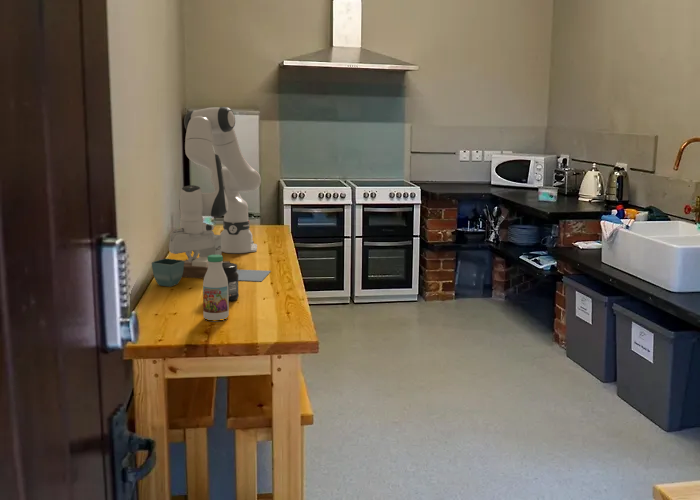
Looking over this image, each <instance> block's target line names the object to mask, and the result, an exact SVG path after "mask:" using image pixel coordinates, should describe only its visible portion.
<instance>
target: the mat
mask: <svg viewBox="0 0 700 500" xmlns="http://www.w3.org/2000/svg"><path fill="white" fill-rule="evenodd" d="M236 272H237V273H238V275H239V277H238V282H255V283H256V282H258V283H259V282H260V283H261V282H263V281H264V280H265V279H266V278H267V276H268V275H269V274H271V272H272V270H261V269H260V270H259V269H238V268H237V271H236Z"/></svg>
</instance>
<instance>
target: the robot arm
mask: <svg viewBox="0 0 700 500" xmlns="http://www.w3.org/2000/svg"><path fill="white" fill-rule="evenodd" d="M183 119H184V120H183V124H184V128H185V131H186V133H185V139H184V141H185V142H184V150H185V151H184V152H185V155H186V157H187V158H188V159H189V161H190V162H192V163H194V164H195V165H197V166H199V167H200V166H201V167H202V168H204V169H207V170H208V171H210V172H211V175H210V180H211V184H212V186H213V187H214V191H213V192H202V189H201V187H200V186H198V185H194V184H193V185H184V186H183V187H182V188H181V189H180V193H179V195H180V197H179V203H178V204H179V205H178V206H179V211H180V218H179V223H180V226H179V229H173V230H172V231H171V232H170V233H169V243H168V251H169V253H171V254H174V255H176V254H177V255H178V254H183V253H185V255H186V257H187V260H188V262H192V261H193V260H195V259H197V258H198V257H199V250H201V249H207V248H213V246H214V244H215V238H214V235H215V232H214V230H215V229H214V225H213V224H210V223H206V222H204V218H203V217H210V218H219V219H220V218H222V217H223V223H222V227H223V230H222V231H221V232H220V234H219V235H221V253H226V254H247V253H253V252H254V253H255V252H257V249H258V244H257V243H254V240H253V233H252V231H251V230H250V227H251V226H250V220H249V205H248V202H247V201H246V200H245V199H243V198H242V196H241V194H240V192H241V193H250V192H254V191H257V190H258V189H259V188H260V186H261V183H262V178H261V175H260V173H259V172H258V171H257V170H256V169H255V168H253V166H251V165H250V164H249V163H248V161H247V160H246V158H245V157H244V155H243V153H242V151H241V148H240V144H239V140H238V137H237V135H236V132H235V128H234V127H235V124H236V117H235V114H234V112H233V110H232V109H231V108H230V107H226V106H220V107H217V106H216V107H206V108H202V109H197V110H194V109H193V110H190V111H188V112H186V114H185V116H184V118H183ZM222 165H223V166H222ZM192 253H193V254H192Z"/></svg>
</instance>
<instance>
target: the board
mask: <svg viewBox="0 0 700 500" xmlns="http://www.w3.org/2000/svg"><path fill="white" fill-rule="evenodd" d="M183 261H184V269H183V275H182V277H181V278H189V279H190V278H192V279H194V278H195V279H204V277H205V274H206V272H207V269H208V266H207V267H199V266H192V262H188V259H186V260H185V259H184V260H183ZM223 262H227V263H231V261H229V260H227V261H226V260H223Z"/></svg>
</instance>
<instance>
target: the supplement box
mask: <svg viewBox="0 0 700 500" xmlns="http://www.w3.org/2000/svg"><path fill="white" fill-rule="evenodd" d="M214 238H215V244H214V246H213V248H207V249H201V250H199V254H198V258H199V257H208V256H209V255H222V251H221V235H220V234H214Z"/></svg>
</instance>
